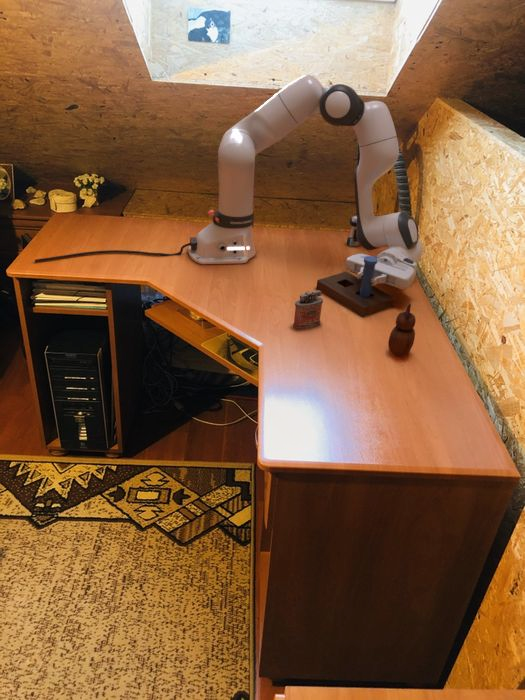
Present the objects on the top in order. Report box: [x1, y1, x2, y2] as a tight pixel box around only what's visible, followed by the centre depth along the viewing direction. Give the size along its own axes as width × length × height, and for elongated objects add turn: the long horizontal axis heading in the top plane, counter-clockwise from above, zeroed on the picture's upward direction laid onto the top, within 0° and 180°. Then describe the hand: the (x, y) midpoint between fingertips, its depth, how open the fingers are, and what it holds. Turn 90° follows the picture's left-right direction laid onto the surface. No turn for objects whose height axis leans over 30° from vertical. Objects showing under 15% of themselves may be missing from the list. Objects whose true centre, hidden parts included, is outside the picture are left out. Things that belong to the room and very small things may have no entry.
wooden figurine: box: [387, 302, 417, 358], centre depth 142 cm, size 7×6×15 cm
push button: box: [346, 215, 361, 248], centre depth 202 cm, size 7×5×10 cm
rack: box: [316, 270, 395, 318], centre depth 169 cm, size 12×20×3 cm, turn 36°
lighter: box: [292, 290, 324, 331], centre depth 152 cm, size 8×3×10 cm, turn 118°
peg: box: [359, 255, 378, 299], centre depth 164 cm, size 4×4×14 cm
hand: (366, 279), depth 162 cm, fingers closed on peg, 3 cm apart
